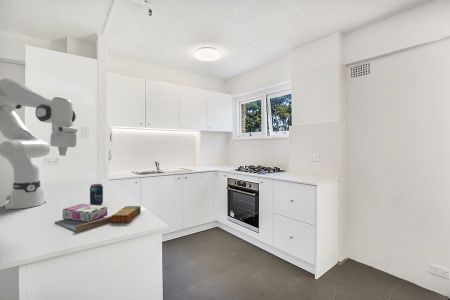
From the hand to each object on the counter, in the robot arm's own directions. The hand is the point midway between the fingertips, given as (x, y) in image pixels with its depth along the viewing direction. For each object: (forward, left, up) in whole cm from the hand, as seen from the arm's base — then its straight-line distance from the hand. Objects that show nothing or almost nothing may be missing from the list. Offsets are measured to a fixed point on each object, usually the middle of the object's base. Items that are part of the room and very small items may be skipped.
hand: (62, 155), depth 115 cm
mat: (+20, 0, -31) cm, 37 cm away
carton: (+32, +15, -32) cm, 47 cm away
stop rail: (+31, 0, -31) cm, 44 cm away
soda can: (-5, +20, -31) cm, 37 cm away
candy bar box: (+9, +1, -28) cm, 29 cm away
